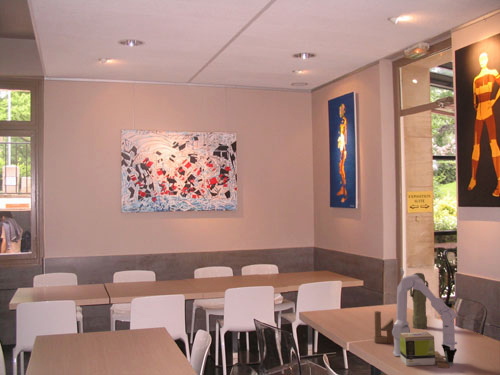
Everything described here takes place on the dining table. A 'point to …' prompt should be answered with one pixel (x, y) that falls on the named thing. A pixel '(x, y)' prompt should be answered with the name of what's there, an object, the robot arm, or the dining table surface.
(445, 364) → the walnut board
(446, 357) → the grey-green block
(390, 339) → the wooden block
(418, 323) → the thermos
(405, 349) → the tea box
